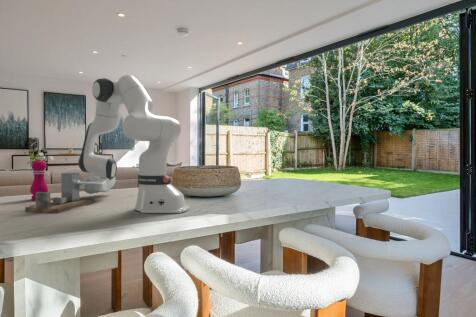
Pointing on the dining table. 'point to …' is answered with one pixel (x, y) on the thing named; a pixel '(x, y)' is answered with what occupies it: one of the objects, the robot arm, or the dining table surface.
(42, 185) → the pepper mill
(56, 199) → the wood and grey stick
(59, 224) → the dining table surface
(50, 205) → the gauge bench
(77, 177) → the brushed steel block
